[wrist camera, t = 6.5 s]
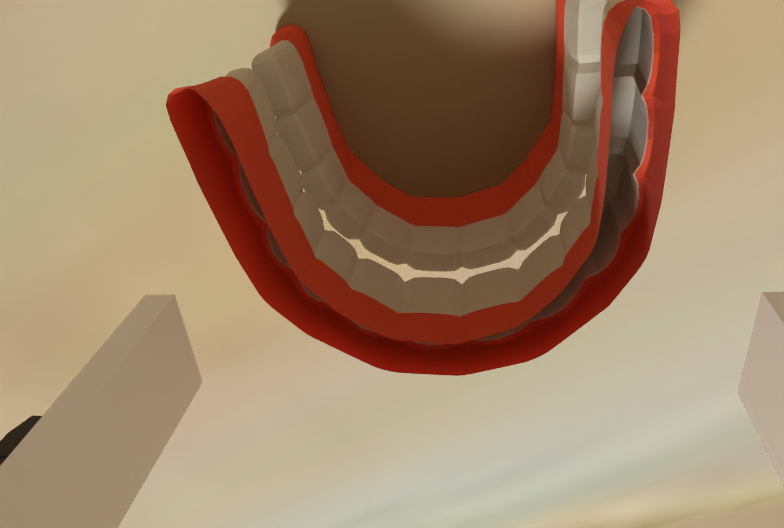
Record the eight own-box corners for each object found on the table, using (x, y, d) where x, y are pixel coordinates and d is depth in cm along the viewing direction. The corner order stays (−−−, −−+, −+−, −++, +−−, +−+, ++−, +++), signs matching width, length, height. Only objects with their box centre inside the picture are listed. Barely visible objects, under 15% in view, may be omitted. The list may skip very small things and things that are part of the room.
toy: (325, 274, 27) (274, 402, 21) (251, 30, 22) (152, 92, 16) (624, 239, 25) (679, 372, 18) (617, -46, 20) (691, -10, 13)
